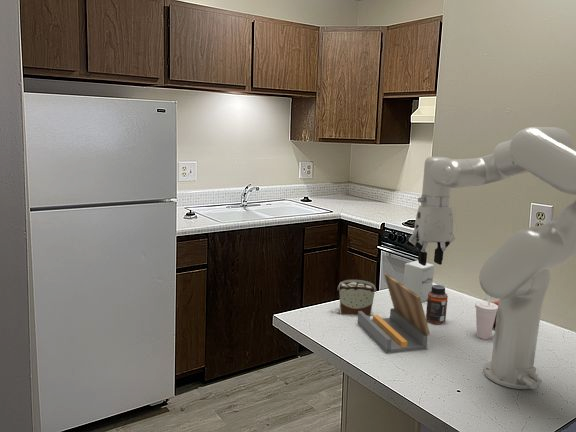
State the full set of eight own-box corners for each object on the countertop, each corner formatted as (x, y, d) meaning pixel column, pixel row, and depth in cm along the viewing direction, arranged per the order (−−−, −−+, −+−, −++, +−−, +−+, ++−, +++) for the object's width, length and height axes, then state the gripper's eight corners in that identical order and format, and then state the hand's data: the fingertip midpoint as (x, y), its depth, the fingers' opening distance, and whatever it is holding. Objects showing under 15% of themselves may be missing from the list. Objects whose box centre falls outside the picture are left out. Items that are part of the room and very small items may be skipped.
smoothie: (497, 342, 147) (502, 295, 144) (473, 339, 148) (478, 293, 145) (492, 332, 153) (498, 288, 150) (470, 330, 154) (475, 286, 151)
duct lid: (427, 335, 141) (430, 334, 141) (417, 297, 137) (419, 296, 137) (394, 308, 159) (396, 307, 160) (384, 274, 156) (386, 273, 156)
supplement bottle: (447, 325, 158) (451, 290, 156) (428, 324, 158) (431, 289, 156) (442, 317, 164) (445, 283, 161) (423, 316, 164) (426, 283, 161)
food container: (373, 309, 169) (375, 280, 167) (375, 316, 163) (377, 286, 161) (336, 307, 170) (337, 278, 168) (336, 314, 164) (337, 284, 162)
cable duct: (426, 349, 141) (427, 335, 141) (386, 353, 138) (387, 339, 137) (393, 320, 160) (394, 308, 159) (357, 323, 157) (358, 311, 156)
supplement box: (419, 304, 175) (422, 268, 172) (401, 297, 180) (404, 263, 178) (431, 299, 179) (435, 264, 177) (414, 293, 185) (417, 259, 182)
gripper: (414, 204, 138) (409, 269, 142) (469, 203, 143) (463, 266, 146) (401, 199, 145) (397, 261, 149) (454, 198, 150) (448, 258, 154)
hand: (430, 263), depth 148 cm, fingers open, 4 cm apart
